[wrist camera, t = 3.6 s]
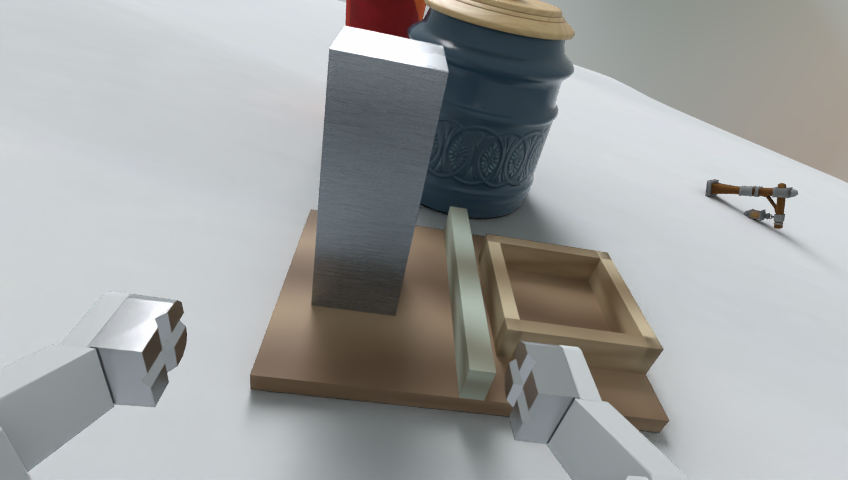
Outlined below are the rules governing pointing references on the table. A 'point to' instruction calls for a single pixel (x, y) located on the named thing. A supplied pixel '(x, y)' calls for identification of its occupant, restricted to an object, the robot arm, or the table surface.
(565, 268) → the door board
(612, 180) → the table surface
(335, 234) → the bar
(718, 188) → the wooden post with brackets
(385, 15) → the coffee cup
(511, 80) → the canister
